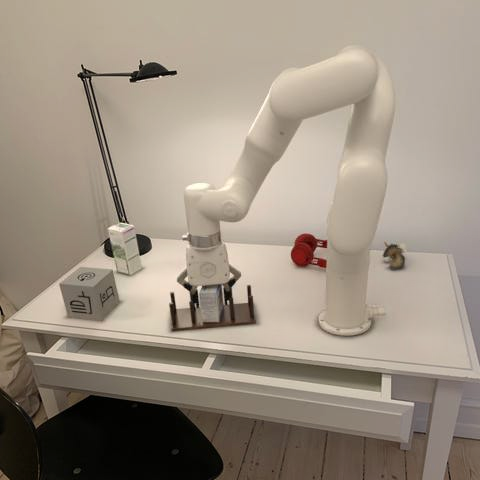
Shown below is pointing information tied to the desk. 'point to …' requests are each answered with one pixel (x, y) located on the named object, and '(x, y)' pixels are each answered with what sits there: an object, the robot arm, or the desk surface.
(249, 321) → the plate rack
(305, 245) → the headphones
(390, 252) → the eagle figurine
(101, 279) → the icon cube
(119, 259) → the syrup box
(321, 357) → the desk surface
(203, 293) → the medicine box
